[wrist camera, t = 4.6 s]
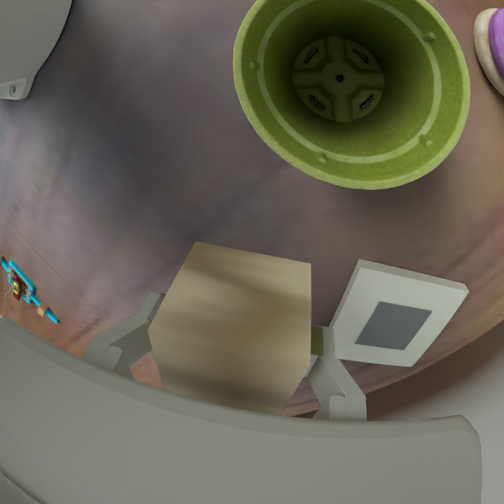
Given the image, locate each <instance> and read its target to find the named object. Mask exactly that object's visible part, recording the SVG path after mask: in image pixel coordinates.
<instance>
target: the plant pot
mask: <svg viewBox="0 0 504 504" xmlns="http://www.w3.org/2000/svg"><path fill="white" fill-rule="evenodd" d="M313 49H318V53H316V54H315V55H314V56H313V57H312V58H311V59H310V60H309V62H308V64H304V59H305V58H306V57H307V56H308V54H309V52H310V51H312V50H313ZM352 49H356V50H358V51H360V52H362V53H363V54H364V55H365V56H366V57H367V58H368V60H369V63H368V64H367V63H365V62H364V61H363V60H362V59H361V57H360V56H358V55H357V54H356V53H355V52H353V51H352ZM233 75H234V83H235V88H236V91H237V95H238V98H239V101H240V104H241V106H242V109H243V111H244V113H245V115H246V116H247V119H248V120H249V122H250V123H251V125H252V126H253V128H254V130H255V131H256V132H257V134H258V135H259V136H260V137H261V138H262V140H263V141H264V142H265V143H266V144H267V145H268V146H269V147H270V148H271V149H272V150H273V151H274V152H275V153H277V154H278V155H279V156H280V157H281V158H283V159H284V160H285V161H287V162H288V163H290V164H291V165H292V166H294V167H295V168H297V169H299V170H300V171H302V172H304V173H306V174H308V175H310V176H312V177H314V178H316V179H319V180H322V181H324V182H327V183H330V184H334V185H337V186H341V187H346V188H353V189H365V190H378V189H387V188H393V187H397V186H401V185H404V184H407V183H409V182H412V181H414V180H416V179H418V178H420V177H422V176H424V175H426V174H427V173H429V172H431V171H432V170H433V169H435V168H436V167H437V166H438V165H439V164H440V163H441V162H442V161H443V160H444V159H445V158H446V157H447V156H448V155H449V154H450V153H451V151H452V150H453V148H454V147H455V145H456V144H457V142H458V140H459V138H460V136H461V134H462V131H463V129H464V126H465V123H466V120H467V117H468V112H469V104H470V80H469V74H468V69H467V65H466V61H465V58H464V55H463V52H462V50H461V47H460V45H459V43H458V41H457V39H456V37H455V35H454V34H453V32H452V31H451V29H450V28H449V26H448V25H447V23H446V22H445V21H444V19H443V18H442V17H441V16H440V14H439V13H438V12H437V11H436V10H435V9H434V8H433V7H432V6H431V5H430V4H429V3H427V2H426V1H425V0H257V1H256V2H255V3H254V5H253V6H252V7H251V8H250V10H249V11H248V13H247V14H246V16H245V18H244V20H243V22H242V24H241V26H240V28H239V31H238V34H237V37H236V40H235V44H234V50H233ZM337 75H342V76H343V77H344V79H343V81H341V82H338V81H337V80H336V76H337ZM371 94H372V95H373V100H372V101H371V102H370V103H369V105H368V106H367V107H365V108H364V109H360V108H359V106H360V105H361V104H362V103H363V102H365V101H366V100H367V98H368V97H369V96H370V95H371ZM309 95H312V96H313V97H314V98H315V99H316V100H317V101H318V102H320V103H321V104H323V105H324V106H325V107H326V109H319V108H318V107H317V106H316V105H314V104H313V103H312V102H311V101H310V99H309Z"/></svg>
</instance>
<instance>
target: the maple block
mask: <svg viewBox="0 0 504 504" xmlns="http://www.w3.org/2000/svg"><path fill="white" fill-rule="evenodd" d="M148 334H149V338H150V342H151V345H152V349H153V353H154V356H155V360H156V363H157V367H158V370H159V373H160V377H161V380H162V383H163V386H164V389H165V390H167V391H170V392H174V393H177V394H181V395H184V396H188V397H192V398H195V399H199V400H203V401H207V402H211V403H216V404H220V405H225V406H229V407H234V408H239V409H244V410H250V411H256V412H261V413H268V414H275V415H280V414H281V413H282V411H283V410H284V408H285V407H286V405H287V403H288V402H289V400H290V399H291V397H292V395H293V394H294V392H295V390H296V389H297V387H298V385H299V384H300V382H301V380H302V379H303V377H304V375H305V374H306V372H307V370H308V368H309V367H310V352H311V264H310V263H305V262H300V261H295V260H290V259H284V258H279V257H274V256H269V255H264V254H259V253H253V252H248V251H243V250H238V249H233V248H228V247H223V246H217V245H212V244H207V243H202V242H197V241H196V242H195V243H194V245H193V247H192V249H191V250H190V252H189V254H188V256H187V257H186V259H185V261H184V263H183V265H182V266H181V268H180V270H179V272H178V274H177V275H176V277H175V279H174V281H173V283H172V285H171V286H170V288H169V290H168V292H167V294H166V296H165V298H164V300H163V301H162V303H161V305H160V307H159V309H158V311H157V313H156V315H155V317H154V319H153V321H152V323H151V325H150V327H149V329H148Z"/></svg>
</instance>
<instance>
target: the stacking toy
mask: <svg viewBox="0 0 504 504" xmlns="http://www.w3.org/2000/svg"><path fill="white" fill-rule="evenodd" d="M473 35H474V45H475V50H476V53H477V57H478V59H479V62H480V64H481V66H482V68H483V70H484V72H485V74H486V76H487V77H488V79H489V80H490V82H491V83H492V84H493V86H494V87H495V88H496V89H497V90H498V91H499V92H500V93H501V94H502V95H503V96H504V7H503V8H500V9H496V8H490V9H486V10H484V11H482V12H481V13H480V14H479V15H478V16H477V18H476V20H475V23H474V30H473Z"/></svg>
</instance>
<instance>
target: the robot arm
mask: <svg viewBox="0 0 504 504" xmlns="http://www.w3.org/2000/svg"><path fill="white" fill-rule="evenodd" d="M71 3H72V0H0V98H1V99H12V100H20V99H25V98H26V97H27V96H28V94H29V91H30V89H31V86H32V83H33V80H34V77H35V75H36V73H37V72H38V70H39V69H40V67H41V66H42V64H43V63H44V62H45V60H46V59H47V58H48V56H49V54H50V53H51V51H52V49H53V48H54V46H55V44H56V42H57V40H58V38H59V36H60V34H61V32H62V29H63V27H64V24H65V22H66V19H67V16H68V13H69V10H70V6H71ZM165 296H166V294H163V293H159V292H155V291H152V292H150V293H149V295H148V297H147V298H146V300H145V302H144V303H143V305H142V307H141V309H140V310H139V312H138V314H137V316H134V315H133V316H131V317H130V318H128V319H126V320H124V321H122V322H120V323H119V324H117V325H115V326H113V327H111V328H109V329H108V330H106V331H104V332H102V333H100V334H98V335H97V336H95V337H93V339H92V341H91V342H90V344H89V346H88V347H87V349H86V351H85V352H84V354H83V356H82V358H80V357H78V356H76V355H74V354H72V353H70V352H68V351H66V350H64V349H62V348H60V347H58V346H56V345H54V344H52V343H50V342H48V341H46V340H44V339H43V338H41V337H39V336H37V335H35V334H34V333H32V332H30V331H29V330H27V329H25V328H24V327H22V326H20V325H19V324H17V323H15V322H14V321H12V320H11V319H9V318H6V317H3V318H0V504H480V502H481V490H482V456H481V444H480V439H479V435H478V433H477V432H476V430H475V429H474V428H473V426H472V425H471V424H470V423H469V421H468V420H467V419H466V418H465V417H464V416H462V415H454V416H447V417H440V418H430V419H419V420H405V421H373V422H372V421H367V414H366V397H365V395H364V394H363V392H362V391H361V389H360V388H359V387H358V385H357V384H356V382H355V381H354V380H353V378H352V377H351V375H350V374H349V373H348V371H347V370H346V368H345V367H344V366H343V364H342V363H341V361H340V360H339V359H338V358H335V343H334V329H333V328H332V327H326V326H320V325H313V324H311V352H310V367H309V368H308V370H307V372H306V374H305V375H304V377H307V380H308V382H309V384H310V386H311V388H312V390H313V391H314V393H315V395H316V397H317V399H318V401H319V403H320V405H321V408H320V409H319V410H318V412H317V413H316V414H315V415H314V416H313V417H312V419H307V418H298V417H290V416H282V415H275V414H268V413H261V412H256V411H250V410H244V409H239V408H234V407H229V406H225V405H220V404H216V403H211V402H207V401H203V400H199V399H195V398H192V397H188V396H184V395H181V394H177V393H174V392H170V391H167V390H164V389H161V388H157V387H154V386H151V385H148V384H145V383H143V382H140V381H137V380H134V377H133V375H132V372H131V370H130V368H129V366H131V365H132V364H133V363H135V362H136V361H137V360H139V359H140V358H141V357H143V356H144V355H145V354H147V353H148V352H149V351H150V350H152V345H151V342H150V338H149V334H148V329H149V327H150V325H151V323H152V321H153V319H154V317H155V315H156V313H157V311H158V309H159V307H160V305H161V303H162V301H163V300H164V298H165Z"/></svg>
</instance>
